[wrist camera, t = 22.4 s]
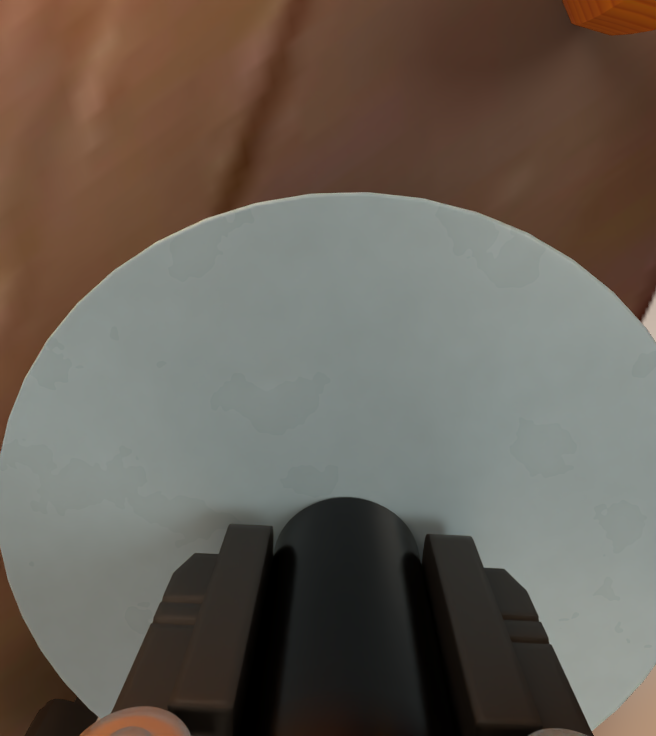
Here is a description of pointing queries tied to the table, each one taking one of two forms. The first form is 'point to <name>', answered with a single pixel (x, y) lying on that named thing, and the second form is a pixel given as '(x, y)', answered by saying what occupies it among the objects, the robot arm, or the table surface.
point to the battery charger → (62, 719)
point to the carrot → (613, 15)
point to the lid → (339, 454)
